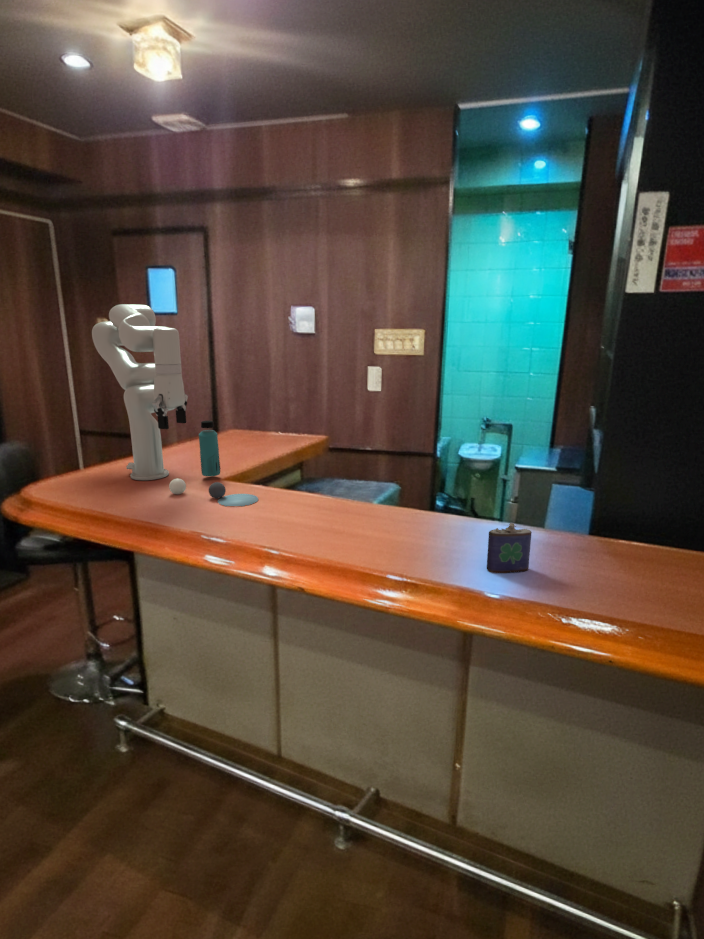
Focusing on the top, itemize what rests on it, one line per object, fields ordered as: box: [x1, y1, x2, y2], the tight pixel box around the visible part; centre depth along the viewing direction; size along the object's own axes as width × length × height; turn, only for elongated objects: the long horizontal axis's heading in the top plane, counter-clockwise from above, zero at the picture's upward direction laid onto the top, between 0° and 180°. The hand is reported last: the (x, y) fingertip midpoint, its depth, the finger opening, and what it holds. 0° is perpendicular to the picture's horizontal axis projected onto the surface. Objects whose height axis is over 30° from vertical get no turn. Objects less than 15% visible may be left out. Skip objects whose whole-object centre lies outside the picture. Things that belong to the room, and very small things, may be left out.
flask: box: [486, 522, 532, 574], centre depth 114 cm, size 9×3×11 cm, turn 95°
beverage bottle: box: [198, 420, 221, 477], centre depth 182 cm, size 6×7×20 cm
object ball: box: [208, 481, 227, 500], centre depth 163 cm, size 5×5×5 cm
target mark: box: [217, 493, 259, 507], centre depth 161 cm, size 12×12×1 cm
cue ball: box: [168, 477, 187, 495], centre depth 167 cm, size 5×5×5 cm
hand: (172, 425), depth 166 cm, fingers open, 9 cm apart
